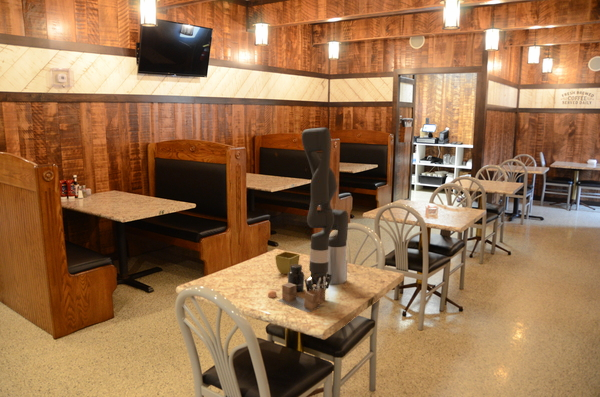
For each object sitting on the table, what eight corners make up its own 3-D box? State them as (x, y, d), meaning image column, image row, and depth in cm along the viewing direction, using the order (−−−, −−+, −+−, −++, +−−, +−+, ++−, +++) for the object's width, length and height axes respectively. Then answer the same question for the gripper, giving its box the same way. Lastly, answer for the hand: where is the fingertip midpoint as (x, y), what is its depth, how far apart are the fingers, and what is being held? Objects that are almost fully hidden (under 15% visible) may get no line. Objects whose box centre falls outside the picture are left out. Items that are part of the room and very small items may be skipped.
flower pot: (300, 272, 234) (300, 254, 233) (290, 277, 227) (290, 258, 225) (285, 268, 239) (285, 251, 237) (274, 273, 232) (274, 255, 230)
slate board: (292, 297, 202) (292, 294, 201) (323, 308, 190) (323, 305, 190) (277, 303, 195) (277, 300, 195) (308, 315, 184) (308, 312, 183)
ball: (272, 296, 203) (272, 288, 202) (278, 298, 200) (278, 290, 199) (265, 298, 200) (265, 290, 199) (271, 301, 198) (271, 292, 197)
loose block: (317, 301, 198) (317, 287, 197) (325, 303, 195) (325, 289, 194) (310, 303, 195) (311, 289, 194) (318, 306, 192) (318, 291, 191)
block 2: (310, 303, 191) (312, 289, 190) (318, 307, 188) (319, 293, 187) (303, 306, 188) (305, 292, 187) (311, 310, 186) (312, 295, 184)
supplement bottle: (298, 296, 203) (298, 269, 201) (284, 293, 206) (284, 266, 204) (306, 291, 208) (307, 264, 206) (293, 288, 212) (293, 262, 210)
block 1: (289, 296, 199) (289, 282, 198) (296, 299, 197) (296, 285, 196) (282, 299, 196) (282, 285, 195) (289, 301, 194) (289, 287, 193)
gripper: (314, 264, 185) (312, 307, 187) (337, 258, 195) (336, 299, 198) (299, 260, 190) (298, 302, 193) (323, 254, 200) (322, 294, 203)
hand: (317, 300), depth 195 cm, fingers closed on loose block, 4 cm apart
